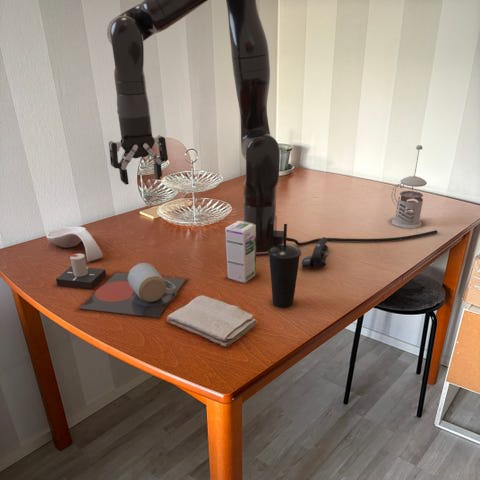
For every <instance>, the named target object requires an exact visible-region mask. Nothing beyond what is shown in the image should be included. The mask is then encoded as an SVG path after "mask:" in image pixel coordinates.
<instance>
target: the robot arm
mask: <svg viewBox="0 0 480 480" xmlns="http://www.w3.org/2000/svg"><path fill="white" fill-rule="evenodd" d="M207 1H209V0H143V1H141V2H140V3H138V4H136V5H135V6H132V7H130V8H129V9H127V10H125V11H124V12H122V13H120V14H119V15H117V16H115V17H114V18H112V19H111V21H109V23H108V26H107V29H106V36H107V39H108V42H109V44H110V45H111V48H112V54H113V55H112V56H113V62H114V70H113V79H114V85H115V86H114V87H115V92H116V108H117V109H116V112H117V117H118V122H119V131H120V139H121V140H120V141H113V140H110V141H109V142H108V149H109V160H110V162H109V163H110V166H111V167H113V168H114V169H118V170H119V177H120V181H121V182H122V183H123V184H124V185H129V182H130V181H129V175H128V170H127V167H128V165H129V163H131V161H132V159H139V158H147V156H148V158H150V159H151V160H152V161H153V162H154V163H153V172H154V178H155V179H156V180H161V178H162V176H163V171H162V164H163V163H164V162H168V160H169V156H168V150H167V143H166V138H165V136H162V135H158V136H155V137H153V129H152V120H151V119H152V118H151V111H150V101H149V98H148V93H147V91H148V90H147V82H146V75H145V68H144V65H145V52H144V51H145V48H144V47H145V46H144V44H145V43H144V42H145V41H146V40H147V39H149V38H151V37H153V35H155V34H158V33H161V32H163V31H166V30H167V29H169V28H170V27H171V26H173V25H175V24H176V23H178V22H179V21H181V20H182V19H184V18H185V17H187V16H188V15H190V14H191V13H193V12H194V11H195V10H196V9H198V8H200V7H201V6H202V5H204V4H205V3H206V2H207ZM225 2H226V11H227V18H228V19H227V20H228V33H229V42H230V43H229V44H230V52H231V65H232V73H233V79H234V85H235V92H236V96H237V97H236V98H237V103H238V109H239V116H240V117H239V118H240V151H241V154H242V157H243V159H244V160H245V180H244V182H243V221H244V222H250V223H253V224H255V225H256V256H264V255H268V249H269V248H271V247H273V246H276V245H280V244H283V239H284V230H278V216H277V188H278V184H279V180H280V165H281V150H280V145H279V143H278V141H277V140H276V138H275V137H273V136H272V135H271V131H270V125H269V117H268V98H269V91H270V82H271V64H270V51H269V44H268V39H267V36H266V32H265V30H264V29H265V28H264V27H263V24H262V20H261V18H260V14H259V11H258V7H257V0H225ZM154 145H156V146H158V147H157V148H158V153H159V156H158V155H157V154H156V153H155V151H154V150H153V146H154ZM120 148H122V149H123V153H122V154H121V158H120V160H119V157H118V156H119V155H118V152H120ZM437 233H438V230H436V229H435V230H431V231H427V232H422V233H416V234H412V235H411V234H410V235H406V236H405V235H404V236H397V237H386V238H385V237H384V238H383V237H382V238H338V237H326V238H327V239H328V240H327V242H353V243H354V242H357V243H360V242H361V243H365V242H367V243H368V242H369V243H372V242H374V243H375V242H392V241H393V242H394V241H403V240H408V239H414V238H419V237H420V238H421V237H425V236H429V235H433V234H437ZM321 238H322V237H321ZM321 238H313V239H311V240H308V241H304V242H299V240H297V239H295V238H291V237H287V239H286V242H292V243H294V244H295V246H298V247H299V246H306V245H311V244H313V243H317V242H318V241H319V240H320V239H321Z"/></svg>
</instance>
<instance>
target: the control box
mask: <svg viewBox="0 0 480 480" xmlns="http://www.w3.org/2000/svg"><path fill="white" fill-rule="evenodd" d="M87 271H88V274H87V275H85V276H82V277H76V276H74V273H73V268H72V265H71V266H69V267H68V268H67V269H66V270H65V271H64V272H62V273H61V274H60V275H58V276H57V277H56V278H55V282H56V285H57V286H58V287H67V288H76V289H85V290H94V289H95V288H96V286H97V285H98V284H99V283H101V281H103V280H104V279H105V278H106V277H107V271H106V269H105V268H96V267H89V266H87Z"/></svg>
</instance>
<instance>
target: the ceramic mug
mask: <svg viewBox="0 0 480 480" xmlns="http://www.w3.org/2000/svg"><path fill="white" fill-rule="evenodd" d="M127 274H128V283H129V285H130V287H131V288H132V289H133V290H134V291H135V293H136V294H137V295H138V296H139V297H140V298H141V299H142V300H144V301H146V302H155V301H157V300H159V299H160V298H161V297H162V296H163V295H164V294H173V293H174V291H175V289H176V287H175V285H174V284H172V283H171V282H169V281H167V280H164V279H163V278H162V277H163V276H162V275H161V274H160V272H158V270H157V269H156V268H155V266H153V265H152V264H150V263H148V262H141V263H137V264H135V265H134V266H133V267H132V268H130V270H129V271H128V273H127ZM166 287H168V288H166Z"/></svg>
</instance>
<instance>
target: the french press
mask: <svg viewBox="0 0 480 480" xmlns="http://www.w3.org/2000/svg"><path fill="white" fill-rule="evenodd" d="M415 150H418V152H417V157H416V158H417V159H416V163H415V169H414V175H410V176H409V175H408V176H406V177H403V178H402V179H400V183H397V184H395V185H394V187H393V188H392V190H391V201H392V203H393V204H394V206H396V211H395V217H394V218H393V219H392V220H391V224H392V225H394V226H396V227H399V228H404V229H417V228H420V227H421V226H423V224H422V221H421V219H420V218H421V213H422V207H423V203H424V198H423V197H424V194H423V193H422V192H419V191H414V190H413V189H414V187H417V188H420V187H425V186H426V185H427V184H428V182H427V181H426V180H425V179H424V178H422V177H419V176H417V175H416V173H417V166H418V161H419V155H420V151H421V150H423V145H421V144H418V145H417V146H416V147H415ZM405 186H408V187H411V190H404V191H401V192H399V195H400V196H398V198H396V191H397V188H398V187H399V188H400V189H402V188H404V187H405ZM393 193H394V194H393ZM393 195H394V199H393ZM394 200H395V202H394Z"/></svg>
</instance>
